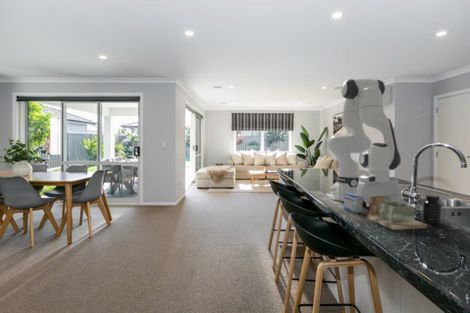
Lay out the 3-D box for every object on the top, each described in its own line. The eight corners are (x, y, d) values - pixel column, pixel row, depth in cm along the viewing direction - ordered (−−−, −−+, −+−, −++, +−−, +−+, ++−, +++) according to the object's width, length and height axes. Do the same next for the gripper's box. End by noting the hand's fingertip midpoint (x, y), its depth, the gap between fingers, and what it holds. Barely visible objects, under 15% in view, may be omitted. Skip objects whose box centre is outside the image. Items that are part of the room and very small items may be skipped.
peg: (369, 214, 131) (370, 194, 131) (377, 214, 132) (378, 194, 131) (375, 217, 127) (376, 196, 126) (383, 217, 128) (384, 196, 127)
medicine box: (343, 209, 141) (344, 193, 141) (349, 208, 143) (350, 192, 142) (355, 213, 134) (356, 196, 133) (362, 212, 136) (362, 195, 135)
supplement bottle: (424, 219, 125) (425, 193, 124) (442, 222, 120) (444, 195, 119) (420, 222, 120) (421, 195, 119) (439, 226, 115) (441, 198, 114)
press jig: (367, 218, 126) (368, 201, 125) (397, 216, 128) (398, 200, 128) (392, 229, 110) (393, 210, 109) (427, 227, 112) (428, 209, 112)
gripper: (393, 176, 133) (392, 203, 134) (355, 176, 130) (354, 205, 130) (403, 177, 127) (402, 206, 127) (363, 178, 123) (362, 208, 124)
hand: (377, 206), depth 129 cm, fingers open, 8 cm apart
